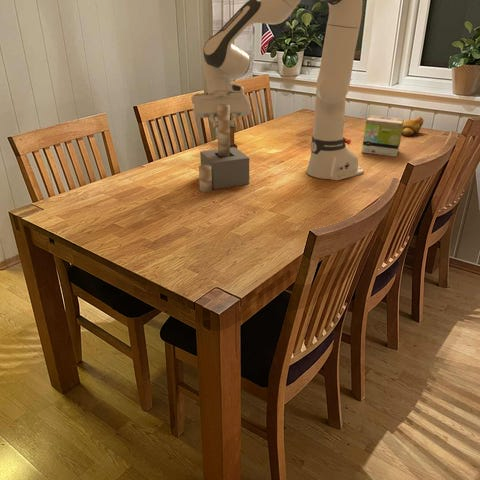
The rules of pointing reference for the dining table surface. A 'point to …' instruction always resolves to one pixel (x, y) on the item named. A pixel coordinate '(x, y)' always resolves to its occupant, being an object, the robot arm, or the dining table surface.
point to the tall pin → (223, 130)
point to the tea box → (382, 135)
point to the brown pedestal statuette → (232, 137)
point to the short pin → (205, 178)
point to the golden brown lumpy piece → (412, 126)
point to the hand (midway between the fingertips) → (224, 126)
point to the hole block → (227, 168)
